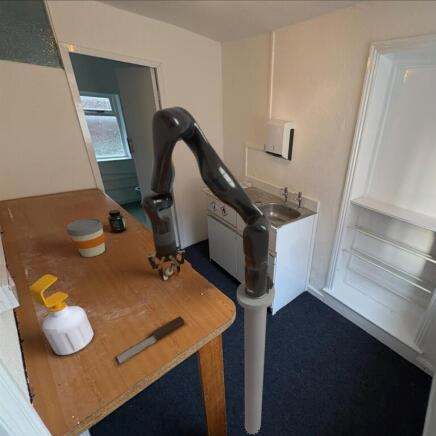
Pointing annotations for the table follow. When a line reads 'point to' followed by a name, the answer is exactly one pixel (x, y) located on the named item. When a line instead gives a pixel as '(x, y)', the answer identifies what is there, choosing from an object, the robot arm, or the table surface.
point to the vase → (169, 271)
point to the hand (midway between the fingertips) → (170, 273)
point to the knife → (153, 338)
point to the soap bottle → (62, 320)
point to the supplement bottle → (116, 221)
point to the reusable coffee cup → (87, 236)
